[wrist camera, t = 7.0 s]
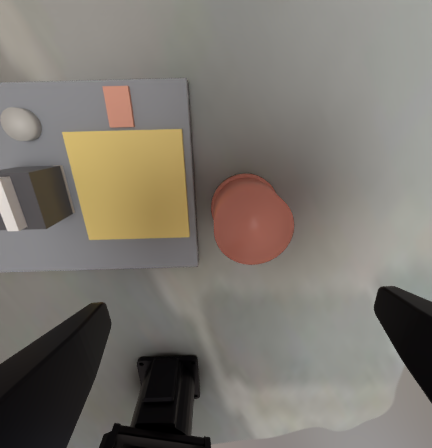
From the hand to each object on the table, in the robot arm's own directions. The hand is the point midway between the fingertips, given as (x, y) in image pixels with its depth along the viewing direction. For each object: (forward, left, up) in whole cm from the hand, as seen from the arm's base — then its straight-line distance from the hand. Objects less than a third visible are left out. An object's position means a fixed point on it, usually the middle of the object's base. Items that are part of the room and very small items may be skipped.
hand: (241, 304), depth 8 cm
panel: (+2, +12, -12) cm, 17 cm away
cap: (0, -2, -12) cm, 12 cm away
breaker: (+2, +13, -11) cm, 17 cm away
